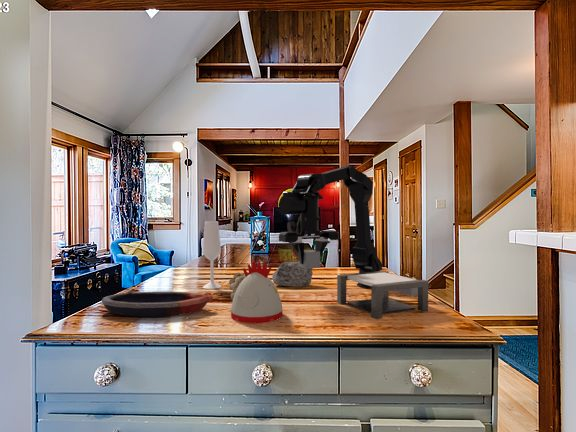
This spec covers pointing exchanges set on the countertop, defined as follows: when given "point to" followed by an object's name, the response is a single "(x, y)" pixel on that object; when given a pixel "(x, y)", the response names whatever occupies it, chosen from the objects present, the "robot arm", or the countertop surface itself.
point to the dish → (155, 303)
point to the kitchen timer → (256, 297)
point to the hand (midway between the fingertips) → (309, 263)
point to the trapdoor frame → (384, 296)
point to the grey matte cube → (311, 259)
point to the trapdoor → (384, 281)
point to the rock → (292, 275)
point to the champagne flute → (211, 249)
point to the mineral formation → (236, 282)
